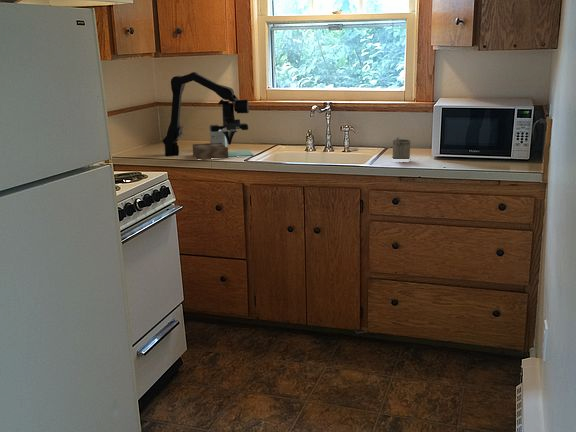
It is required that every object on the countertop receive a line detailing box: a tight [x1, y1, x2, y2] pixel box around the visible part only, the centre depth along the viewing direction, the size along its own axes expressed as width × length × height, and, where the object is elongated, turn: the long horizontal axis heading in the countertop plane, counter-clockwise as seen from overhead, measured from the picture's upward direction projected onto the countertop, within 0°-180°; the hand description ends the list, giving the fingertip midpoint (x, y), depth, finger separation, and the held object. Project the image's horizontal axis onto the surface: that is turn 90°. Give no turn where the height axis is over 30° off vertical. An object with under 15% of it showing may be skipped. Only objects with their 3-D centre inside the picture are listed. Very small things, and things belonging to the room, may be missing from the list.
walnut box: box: [192, 142, 229, 160], centre depth 314 cm, size 15×16×6 cm
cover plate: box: [228, 149, 255, 158], centre depth 318 cm, size 13×13×2 cm
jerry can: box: [391, 137, 412, 159], centre depth 294 cm, size 14×10×12 cm
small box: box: [209, 130, 228, 147], centre depth 333 cm, size 8×6×10 cm
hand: (229, 144), depth 316 cm, fingers closed
